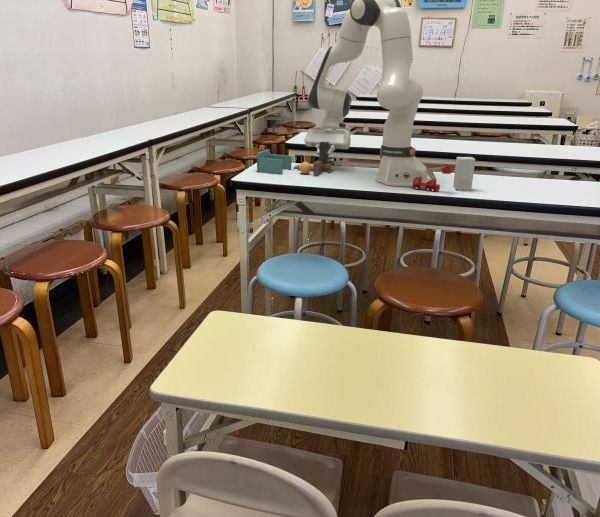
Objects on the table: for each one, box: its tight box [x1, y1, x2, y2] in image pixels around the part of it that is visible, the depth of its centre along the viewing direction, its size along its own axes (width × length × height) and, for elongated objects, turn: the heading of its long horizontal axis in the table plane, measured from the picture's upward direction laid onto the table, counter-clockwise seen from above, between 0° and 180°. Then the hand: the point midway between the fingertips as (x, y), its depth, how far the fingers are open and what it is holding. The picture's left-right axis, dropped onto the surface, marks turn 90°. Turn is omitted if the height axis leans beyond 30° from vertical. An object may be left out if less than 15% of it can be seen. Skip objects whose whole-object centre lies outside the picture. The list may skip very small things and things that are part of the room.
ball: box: [299, 161, 312, 175], centre depth 215 cm, size 5×5×5 cm
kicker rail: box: [293, 164, 335, 174], centre depth 222 cm, size 17×5×1 cm, turn 69°
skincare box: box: [452, 156, 476, 190], centre depth 192 cm, size 6×4×12 cm
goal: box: [256, 148, 293, 175], centre depth 219 cm, size 12×11×8 cm
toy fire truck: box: [411, 165, 453, 192], centre depth 190 cm, size 3×14×10 cm, turn 62°
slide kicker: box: [312, 142, 332, 176], centre depth 215 cm, size 6×13×12 cm, turn 159°
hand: (323, 154), depth 218 cm, fingers closed on slide kicker, 3 cm apart
